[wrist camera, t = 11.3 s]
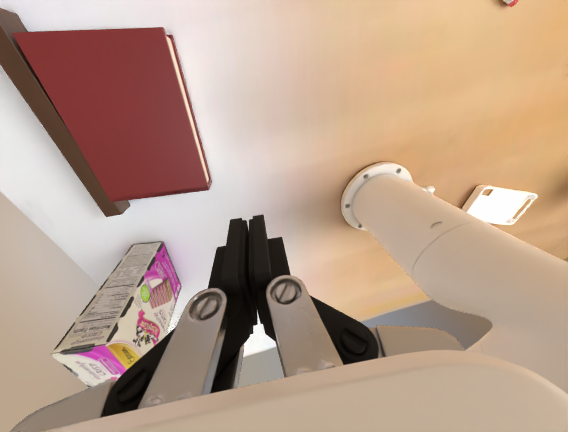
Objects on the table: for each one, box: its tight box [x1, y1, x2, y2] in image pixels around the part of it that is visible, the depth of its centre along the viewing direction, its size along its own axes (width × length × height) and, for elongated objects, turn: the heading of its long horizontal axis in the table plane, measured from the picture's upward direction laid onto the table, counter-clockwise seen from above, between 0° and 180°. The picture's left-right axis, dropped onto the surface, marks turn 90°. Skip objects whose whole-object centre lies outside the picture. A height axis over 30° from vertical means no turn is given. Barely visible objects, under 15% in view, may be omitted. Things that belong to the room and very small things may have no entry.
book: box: [12, 27, 212, 202], centre depth 23 cm, size 12×16×3 cm
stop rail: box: [0, 8, 130, 217], centre depth 22 cm, size 2×20×2 cm, turn 5°
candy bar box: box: [51, 242, 181, 388], centre depth 28 cm, size 11×5×16 cm, turn 0°
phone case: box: [461, 185, 538, 225], centre depth 41 cm, size 7×1×15 cm
